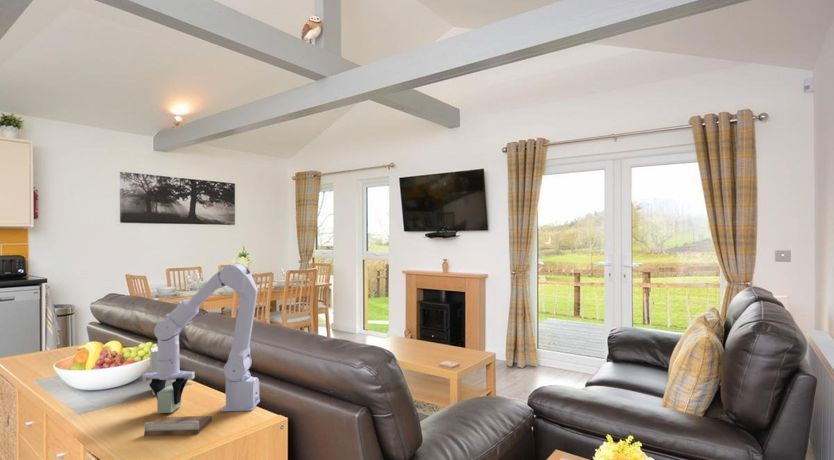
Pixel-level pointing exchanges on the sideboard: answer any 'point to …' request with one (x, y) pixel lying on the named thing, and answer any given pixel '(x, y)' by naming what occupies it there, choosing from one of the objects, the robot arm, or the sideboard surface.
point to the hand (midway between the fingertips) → (169, 403)
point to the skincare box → (156, 364)
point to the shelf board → (202, 424)
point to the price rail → (171, 425)
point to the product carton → (166, 400)
